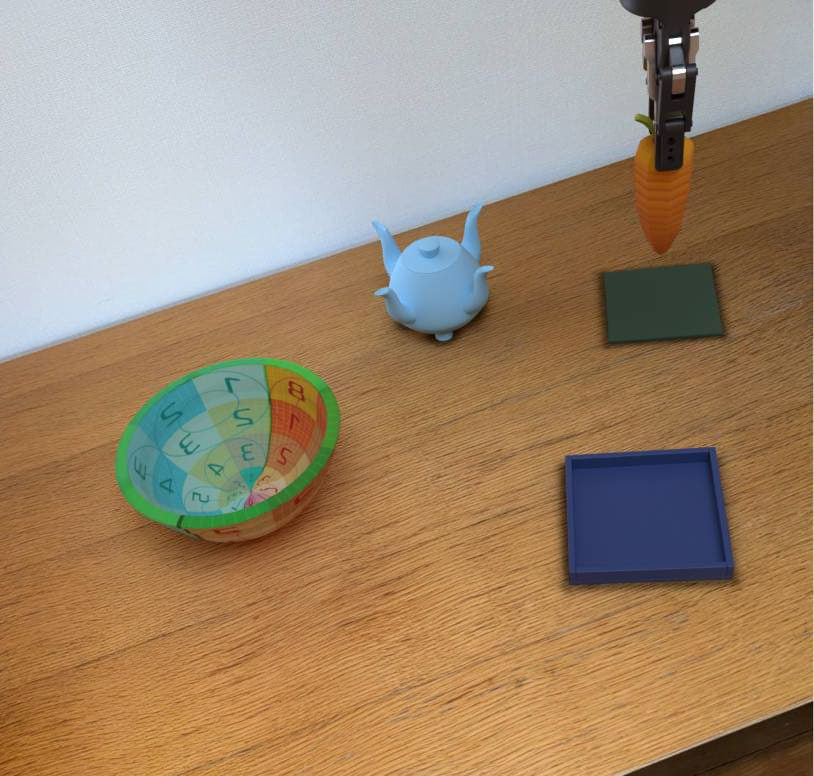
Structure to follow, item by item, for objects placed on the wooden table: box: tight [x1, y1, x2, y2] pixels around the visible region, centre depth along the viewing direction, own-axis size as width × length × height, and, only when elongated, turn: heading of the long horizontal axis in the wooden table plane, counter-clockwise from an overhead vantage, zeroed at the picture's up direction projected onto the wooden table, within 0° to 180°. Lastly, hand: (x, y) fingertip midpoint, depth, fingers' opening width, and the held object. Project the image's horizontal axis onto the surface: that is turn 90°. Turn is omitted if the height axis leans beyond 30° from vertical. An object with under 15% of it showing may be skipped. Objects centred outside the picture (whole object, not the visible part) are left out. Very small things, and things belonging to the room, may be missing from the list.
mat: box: [603, 262, 724, 345], centre depth 111 cm, size 12×12×1 cm
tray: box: [564, 446, 735, 586], centre depth 92 cm, size 14×14×2 cm
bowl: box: [114, 357, 341, 543], centre depth 99 cm, size 22×22×10 cm
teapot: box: [371, 202, 495, 342], centre depth 112 cm, size 13×13×10 cm
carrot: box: [633, 111, 695, 256], centre depth 84 cm, size 5×5×15 cm
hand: (664, 149), depth 82 cm, fingers closed on carrot, 5 cm apart
